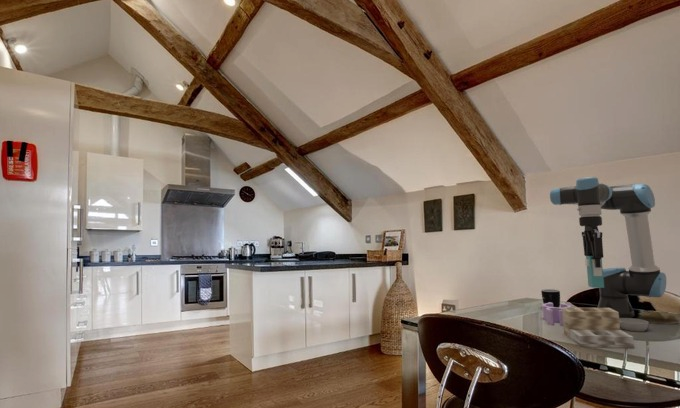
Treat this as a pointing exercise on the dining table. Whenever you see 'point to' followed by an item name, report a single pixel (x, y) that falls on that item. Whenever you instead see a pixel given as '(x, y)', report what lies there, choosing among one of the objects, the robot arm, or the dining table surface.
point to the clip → (553, 313)
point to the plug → (593, 280)
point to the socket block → (595, 328)
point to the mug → (551, 296)
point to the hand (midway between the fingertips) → (595, 275)
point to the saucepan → (633, 324)
